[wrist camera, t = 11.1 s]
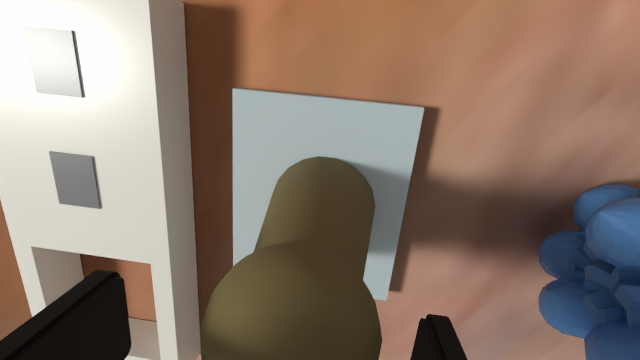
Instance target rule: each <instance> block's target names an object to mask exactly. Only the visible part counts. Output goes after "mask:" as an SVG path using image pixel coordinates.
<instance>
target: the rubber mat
mask: <svg viewBox="0 0 640 360" xmlns="http://www.w3.org/2000/svg"><path fill="white" fill-rule="evenodd" d="M232 89H233V266H234V265H235V264H236V263H238V262H239V261H240V260H242V259H243V258H244V257H246V256H247V255H249V254H251V253H253V252H254V249H255V246H256V243H257V239H258V236H259V233H260V230H261V227H262V224H263V221H264V218H265V215H266V212H267V209H268V206H269V203H270V199H271V196H272V193H273V191H274V188H275V186H276V183H277V181H278V179H279V178H280V176H281V175H282V174H283V173H284V172H285V171H286V170H287V168H288V167H290V166H292V165H294V164H295V163H297V162H299V161H301V160H302V159H307V158H312V157H317V156H322V157H331V158H337V159H339V160H342V161H344V162H346V163H348V164H351V165H352V166H353V167H355V168H356V169H357V170H358V171H359V172H360V173H361V174H362V175H364V176H365V178H366V180H367V182H368V183H369V185H370V187H371V189H372V190H373V196H374V201H375V211H374V218H373V224H372V230H371V236H370V242H369V248H368V254H367V260H366V266H365V272H364V278H363V281H364V282H365V284H366V286H367V287H368V289H369V290H370V292H371V294H372V297H373V299H377V300H384V301H387V296H388V291H389V285H390V280H391V275H392V270H393V265H394V260H395V255H396V250H397V245H398V240H399V235H400V230H401V224H402V219H403V214H404V209H405V204H406V199H407V194H408V189H409V184H410V179H411V174H412V168H413V163H414V158H415V153H416V148H417V143H418V138H419V133H420V128H421V123H422V118H423V113H424V107H422V106H415V105H405V104H395V103H386V102H376V101H366V100H356V99H346V98H336V97H326V96H316V95H306V94H296V93H286V92H276V91H266V90H256V89H246V88H232Z"/></svg>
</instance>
